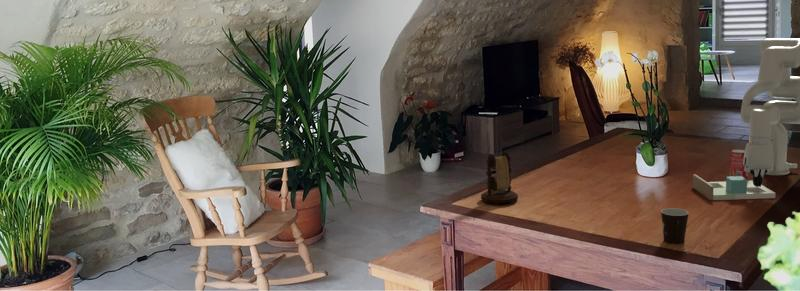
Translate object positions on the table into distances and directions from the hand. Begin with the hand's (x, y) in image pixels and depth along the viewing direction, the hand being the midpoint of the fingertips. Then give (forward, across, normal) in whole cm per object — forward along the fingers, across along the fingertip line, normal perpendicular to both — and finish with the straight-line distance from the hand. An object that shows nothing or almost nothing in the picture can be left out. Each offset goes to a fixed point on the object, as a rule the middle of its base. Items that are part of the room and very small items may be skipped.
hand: (757, 185), depth 313 cm
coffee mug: (+4, +50, +53) cm, 73 cm away
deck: (+4, +8, -5) cm, 10 cm away
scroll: (+4, +101, -4) cm, 101 cm away
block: (+2, +9, +1) cm, 9 cm away
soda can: (+4, -2, -23) cm, 23 cm away
